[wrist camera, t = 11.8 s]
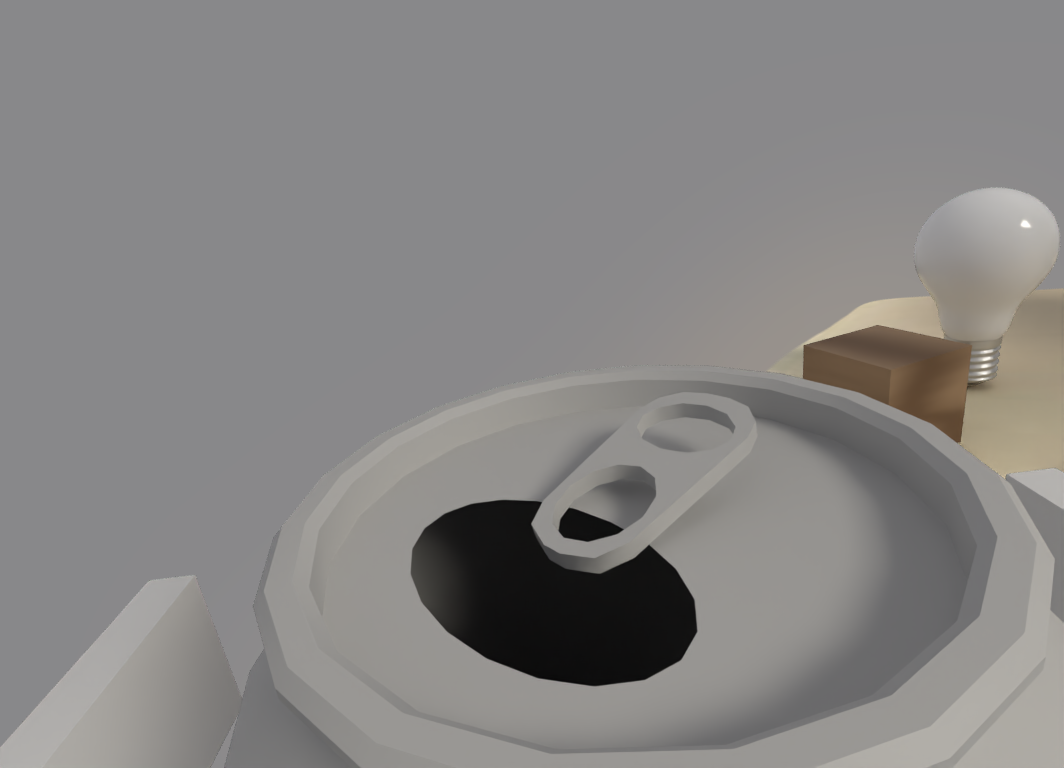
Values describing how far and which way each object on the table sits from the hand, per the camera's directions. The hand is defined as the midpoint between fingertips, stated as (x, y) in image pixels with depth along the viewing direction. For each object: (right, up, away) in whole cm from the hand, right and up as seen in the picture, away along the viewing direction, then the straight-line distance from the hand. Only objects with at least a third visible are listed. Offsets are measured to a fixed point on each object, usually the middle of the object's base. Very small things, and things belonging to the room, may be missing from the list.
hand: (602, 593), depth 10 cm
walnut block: (+16, +1, +21) cm, 27 cm away
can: (+1, -9, -1) cm, 9 cm away
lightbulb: (+24, +3, +26) cm, 35 cm away
